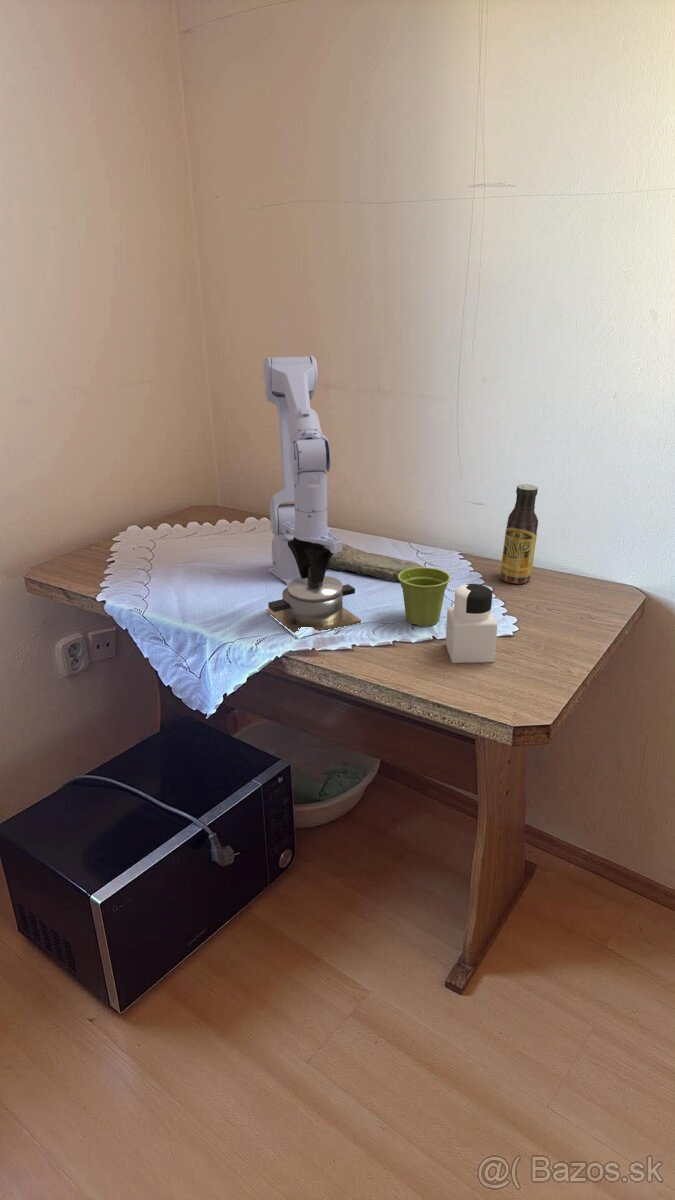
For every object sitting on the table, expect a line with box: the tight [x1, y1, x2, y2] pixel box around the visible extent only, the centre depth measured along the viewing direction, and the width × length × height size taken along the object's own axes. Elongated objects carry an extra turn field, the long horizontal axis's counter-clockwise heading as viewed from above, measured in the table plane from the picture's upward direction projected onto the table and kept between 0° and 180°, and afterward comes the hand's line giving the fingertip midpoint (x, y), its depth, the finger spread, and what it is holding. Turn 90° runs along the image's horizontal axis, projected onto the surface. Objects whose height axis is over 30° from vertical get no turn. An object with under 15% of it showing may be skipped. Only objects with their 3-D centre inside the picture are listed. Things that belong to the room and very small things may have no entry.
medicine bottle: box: [445, 583, 498, 664], centre depth 133 cm, size 7×7×12 cm
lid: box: [287, 564, 343, 603], centre depth 146 cm, size 10×10×5 cm
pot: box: [265, 583, 362, 633], centre depth 148 cm, size 13×17×5 cm
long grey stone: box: [326, 543, 424, 582], centre depth 172 cm, size 35×5×10 cm
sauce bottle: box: [500, 483, 539, 585], centre depth 161 cm, size 6×6×20 cm
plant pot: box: [398, 566, 451, 627], centre depth 146 cm, size 9×9×9 cm
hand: (312, 579), depth 146 cm, fingers closed on lid, 3 cm apart
